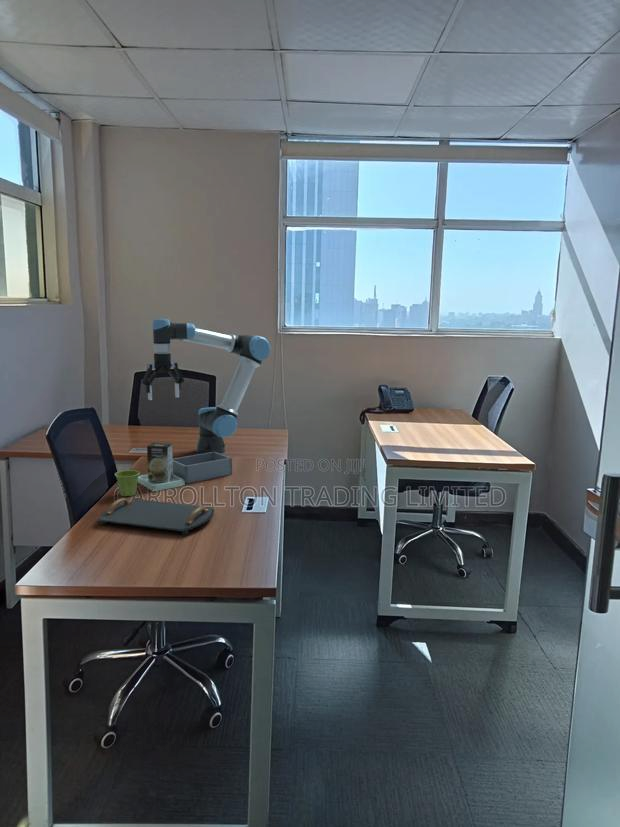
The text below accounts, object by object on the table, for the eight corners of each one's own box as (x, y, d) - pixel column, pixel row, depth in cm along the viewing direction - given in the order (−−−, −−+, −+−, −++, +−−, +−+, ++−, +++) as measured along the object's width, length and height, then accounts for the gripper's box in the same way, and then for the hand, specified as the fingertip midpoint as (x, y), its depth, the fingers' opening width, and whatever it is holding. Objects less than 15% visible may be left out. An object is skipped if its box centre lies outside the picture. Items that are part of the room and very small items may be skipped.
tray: (166, 476, 251) (166, 470, 251) (184, 485, 238) (184, 479, 238) (136, 482, 242) (135, 476, 242) (153, 491, 229) (153, 486, 229)
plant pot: (127, 489, 233) (126, 468, 231) (145, 492, 228) (144, 471, 227) (110, 495, 224) (109, 474, 223) (128, 499, 220) (127, 477, 219)
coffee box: (147, 483, 238) (145, 445, 235) (153, 478, 244) (151, 442, 241) (168, 484, 237) (167, 446, 234) (174, 479, 243) (172, 443, 240)
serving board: (222, 515, 205) (222, 499, 204) (192, 540, 183) (191, 521, 182) (128, 505, 215) (127, 489, 214) (89, 526, 193) (88, 509, 192)
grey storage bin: (214, 467, 267) (214, 451, 265) (232, 474, 255) (231, 457, 254) (169, 475, 252) (169, 459, 251) (185, 483, 241) (185, 466, 239)
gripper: (183, 351, 272) (184, 395, 276) (132, 353, 256) (135, 399, 260) (190, 352, 266) (191, 397, 270) (139, 354, 251) (141, 402, 254)
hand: (163, 398), depth 265 cm, fingers open, 13 cm apart
